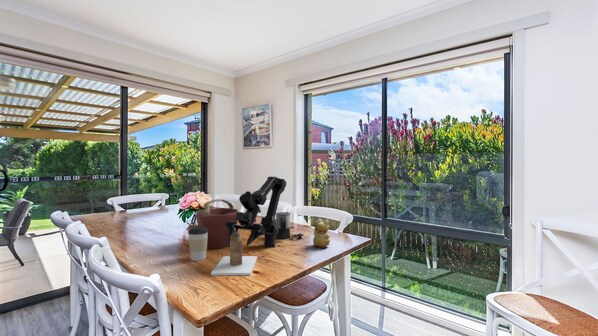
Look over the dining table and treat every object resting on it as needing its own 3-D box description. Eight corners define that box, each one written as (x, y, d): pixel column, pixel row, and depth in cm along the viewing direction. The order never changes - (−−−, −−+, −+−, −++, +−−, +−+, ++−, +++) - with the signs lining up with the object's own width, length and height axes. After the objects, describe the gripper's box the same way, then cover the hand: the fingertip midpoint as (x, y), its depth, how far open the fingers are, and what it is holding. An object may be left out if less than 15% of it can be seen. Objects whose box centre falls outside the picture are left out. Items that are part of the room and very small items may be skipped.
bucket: (210, 254, 139) (210, 204, 139) (185, 246, 152) (185, 200, 152) (247, 243, 159) (247, 199, 158) (222, 236, 172) (222, 195, 171)
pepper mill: (237, 260, 128) (237, 229, 127) (244, 263, 124) (244, 231, 124) (227, 263, 124) (227, 231, 123) (234, 266, 120) (234, 233, 120)
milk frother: (273, 236, 174) (273, 212, 173) (296, 233, 180) (296, 210, 180) (281, 242, 161) (281, 216, 160) (306, 239, 167) (306, 214, 167)
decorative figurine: (332, 246, 153) (332, 218, 153) (325, 250, 146) (325, 221, 146) (316, 243, 158) (316, 217, 158) (309, 247, 151) (309, 219, 151)
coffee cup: (188, 256, 136) (188, 225, 136) (207, 254, 139) (207, 224, 139) (187, 262, 128) (187, 229, 127) (208, 260, 131) (208, 228, 131)
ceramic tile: (223, 258, 134) (223, 256, 134) (257, 258, 134) (257, 256, 134) (210, 275, 114) (210, 272, 114) (250, 275, 114) (250, 272, 114)
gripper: (227, 203, 133) (212, 232, 123) (262, 206, 126) (249, 237, 116) (236, 217, 140) (223, 245, 131) (270, 220, 134) (258, 250, 124)
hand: (237, 244), depth 125 cm, fingers open, 9 cm apart
